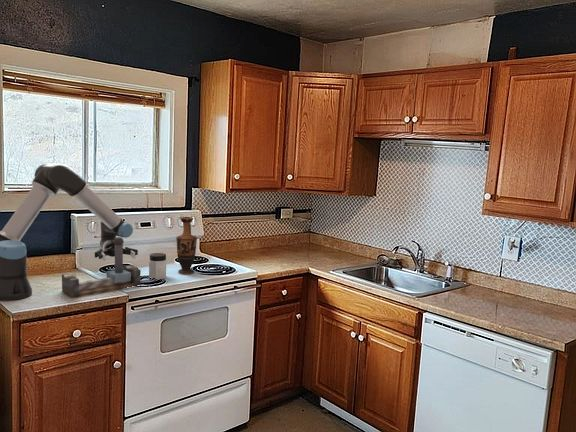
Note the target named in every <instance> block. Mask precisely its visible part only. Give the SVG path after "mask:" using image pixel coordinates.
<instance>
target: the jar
mask: <svg viewBox="0 0 576 432" xmlns="http://www.w3.org/2000/svg"><path fill="white" fill-rule="evenodd" d="M149 277H151V278H155V279H157V280H164V279H165V278H166V277H167V255H166V253H163V252H153V253H150V254H149V260H148V278H149ZM155 279H154V280H155Z"/></svg>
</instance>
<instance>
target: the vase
mask: <svg viewBox="0 0 576 432" xmlns="http://www.w3.org/2000/svg"><path fill="white" fill-rule="evenodd" d="M179 219H180V222H181V223H182V224H183V227H182V228H183V230H182V231H183V232H182V234H181V235H177V236H176V254H177V260H178V263H179V265H180V269H179V270H178V271H177V272H178V274H180V275H191V274H194V273H195V270H194V269H192V265H193V263H194V261H195V258H196V253H197V242H198V241H197V240H198V237H197V235H193V234H192V227H191V226H192V225H191V223H192V222H193V221H194V217H192V216H191V217H190V216H180V218H179Z"/></svg>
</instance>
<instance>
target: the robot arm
mask: <svg viewBox="0 0 576 432" xmlns="http://www.w3.org/2000/svg"><path fill="white" fill-rule="evenodd" d="M31 186H32V187H31V189H30V190H29V191H28V193H27V194H26V196H25V197H24V198H23V200H22V202H21V203H20V204H19V206H18V207H17V208H16V209H15V211H14V213H13V214H12V215H11V217H10V219H8V222H7V223H6V224H5V225H4V227H3V228H2V230H0V301H3V302H5V301H16V300H21V299H26V298H28V297H30V296H32V294H33V288H32V286H31V283H30V281H29V279H28V266H27V265H28V261H27V259H28V258H27V253H28V252H27V246H26V243H24V242H22V241H21V240H22V238H23V237H24V235H25V234H26V233H27V231H28V230H29V228H30V227H31V226H32V224H33V223H34V221H35V219H36V218H37V216H38V215H39V213H40V212H41V211H42V209H43V208H44V206H45V205H46V203H47V202H48V201H49V199H50V198H51V197H54V196H56V195H57V194H58V192H59V191H63V192H65V193H66V194H67V195H69V197H74V198H76V200H78V201H79V202H80V203H81V204H82V205H83V206H84V207H85V208H86V209H87V210H88V211H89V212H91V213H92V215H94V216H95V217H97V219H99V221H100V242H99V246H100V248H98V250H96V251H94V258H98V260H102V261H106V257H107V256H108V257H113V258H115V244H114V239H115V238H117V237H121V238H125V239H126V238H129V237H130V236H131V237H132V235H133V231H134V228H133V225H132V224H130V223H129V222H125V221H124V220H123V218H121V217H120V216H119V215H118V214H117V213H116V212H115V211H114V210H112V208H111V207H110V206H109V205H108V204H107V203H105V202H104V201H103V200H102V199H101V198H100V197H99V196H98V195H97V194H96V193H95V192H94V191H93V190H92V189H91V188H89V186H88V185H87V181H86V180H85V179H84V178H82V177H81V175H79V173H78V172H76V171H75V170H74V169H73V168H72V167H70V166H69V165H67V164H61V163H55V162H47V163H42V164H41V165H39V166H38V167H37V168H36V169H35V171H34V178H33V180H32V181H31ZM138 252H139V250H138V249H135V248H132V247H128V246H126V247H123V255H126V256H130V257H131V258H132V259H134V260H135V259H136V256H138V255H139V253H138Z"/></svg>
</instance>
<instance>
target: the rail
mask: <svg viewBox="0 0 576 432" xmlns="http://www.w3.org/2000/svg"><path fill="white" fill-rule="evenodd" d="M123 269H124V270H126V271H128V272H130V273H131V281H125V282H118V283H113V278H111V277H109V278H107V277H103V278H96V279H91V280H90V279H89V280H83V281H80V279H79V278H78V277H77V274H76V273H63V274H61V292H62V293H64V294H65V295H66V296H68V297H70V298H71V299H74V298H81V297H86V296H92V295H97V294H104V293H109V292H114V291H120V290H124V289H123V288H127V287H132V286H137V285H140V286H141V269H139V268H138V266H137V265H132V264H131V265H130V264H126V265H123ZM127 289H128V288H127Z"/></svg>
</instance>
